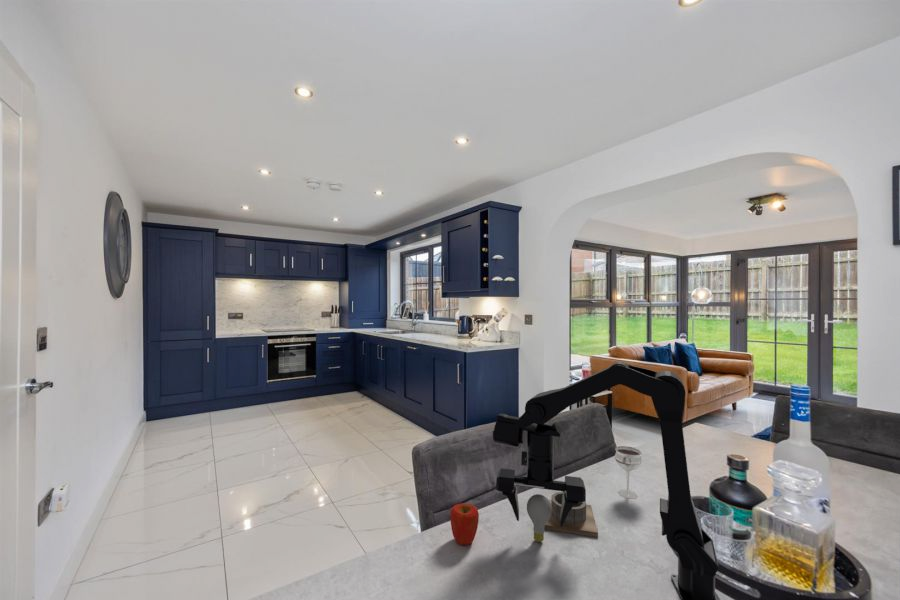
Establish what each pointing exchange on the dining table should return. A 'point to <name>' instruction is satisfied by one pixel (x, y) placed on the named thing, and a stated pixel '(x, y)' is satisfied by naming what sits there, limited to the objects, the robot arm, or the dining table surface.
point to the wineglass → (628, 465)
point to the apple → (464, 523)
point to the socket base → (572, 518)
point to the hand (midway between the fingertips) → (539, 522)
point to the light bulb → (539, 514)
